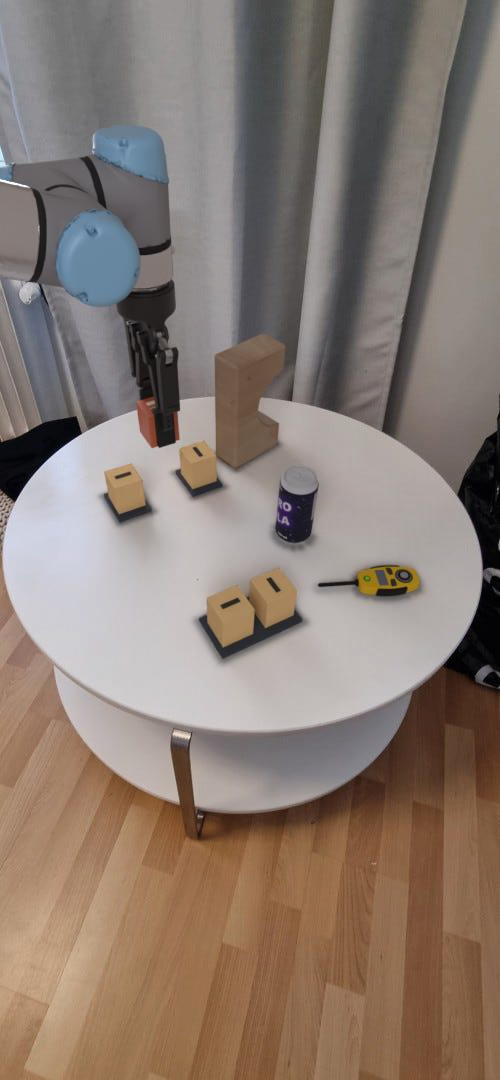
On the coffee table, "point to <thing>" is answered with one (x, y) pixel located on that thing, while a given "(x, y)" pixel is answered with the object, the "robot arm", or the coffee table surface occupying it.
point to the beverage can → (296, 503)
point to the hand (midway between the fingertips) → (159, 434)
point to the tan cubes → (193, 473)
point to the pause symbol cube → (151, 421)
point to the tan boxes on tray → (250, 613)
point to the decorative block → (245, 398)
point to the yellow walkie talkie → (383, 581)
